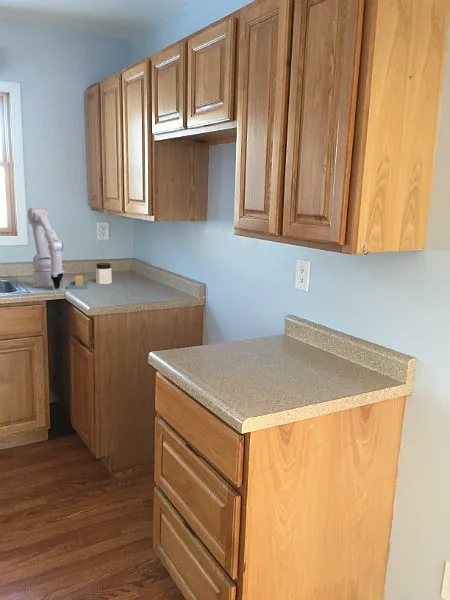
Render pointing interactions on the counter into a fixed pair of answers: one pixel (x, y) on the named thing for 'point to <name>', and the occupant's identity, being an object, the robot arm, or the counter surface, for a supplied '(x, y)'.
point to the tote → (72, 286)
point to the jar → (103, 273)
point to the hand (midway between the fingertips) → (57, 287)
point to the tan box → (79, 281)
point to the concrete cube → (59, 287)
